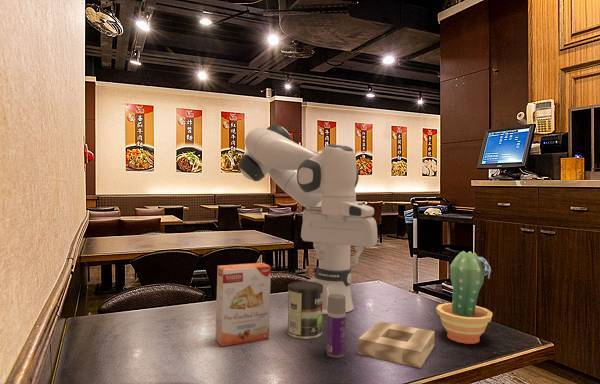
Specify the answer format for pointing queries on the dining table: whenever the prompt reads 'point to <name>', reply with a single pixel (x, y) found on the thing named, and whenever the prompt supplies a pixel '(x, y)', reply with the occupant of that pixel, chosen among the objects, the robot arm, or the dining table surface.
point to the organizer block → (397, 343)
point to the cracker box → (242, 303)
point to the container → (336, 325)
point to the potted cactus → (466, 299)
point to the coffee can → (305, 309)
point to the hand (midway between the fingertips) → (337, 261)
